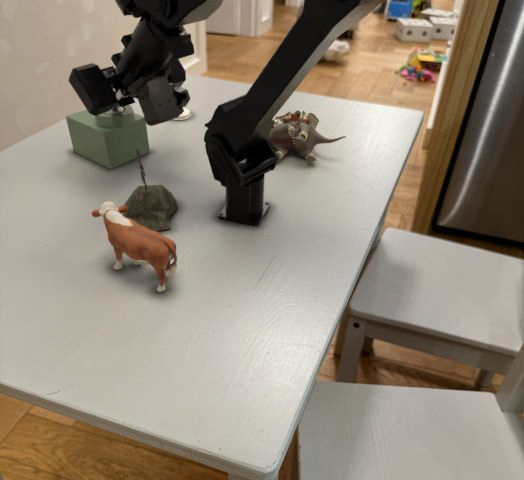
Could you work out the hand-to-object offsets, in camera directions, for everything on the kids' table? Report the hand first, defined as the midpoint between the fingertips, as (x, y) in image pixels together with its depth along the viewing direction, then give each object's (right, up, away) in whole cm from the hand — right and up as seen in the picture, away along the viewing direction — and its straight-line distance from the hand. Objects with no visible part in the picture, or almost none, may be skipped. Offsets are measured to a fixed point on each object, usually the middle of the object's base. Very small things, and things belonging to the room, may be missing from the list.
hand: (112, 107), depth 83 cm
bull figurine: (+9, -30, -17) cm, 36 cm away
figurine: (+30, -2, +12) cm, 32 cm away
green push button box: (-2, -5, +7) cm, 9 cm away
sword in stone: (+8, -20, -7) cm, 23 cm away
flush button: (0, -1, +1) cm, 2 cm away
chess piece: (+8, +8, +20) cm, 23 cm away
